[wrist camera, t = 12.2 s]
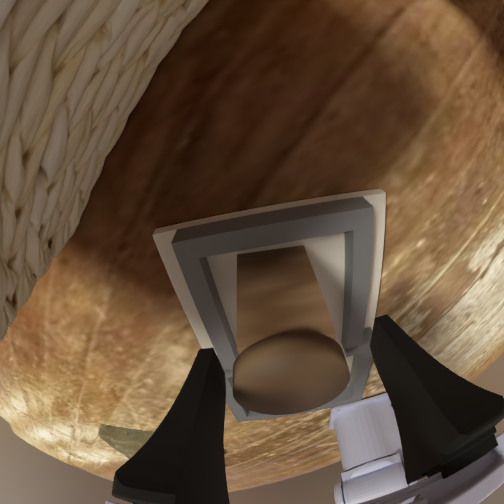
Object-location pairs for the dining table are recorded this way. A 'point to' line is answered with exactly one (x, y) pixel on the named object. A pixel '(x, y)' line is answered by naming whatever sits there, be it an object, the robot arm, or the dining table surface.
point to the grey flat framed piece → (274, 237)
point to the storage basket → (66, 116)
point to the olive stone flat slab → (124, 438)
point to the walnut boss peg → (284, 336)
